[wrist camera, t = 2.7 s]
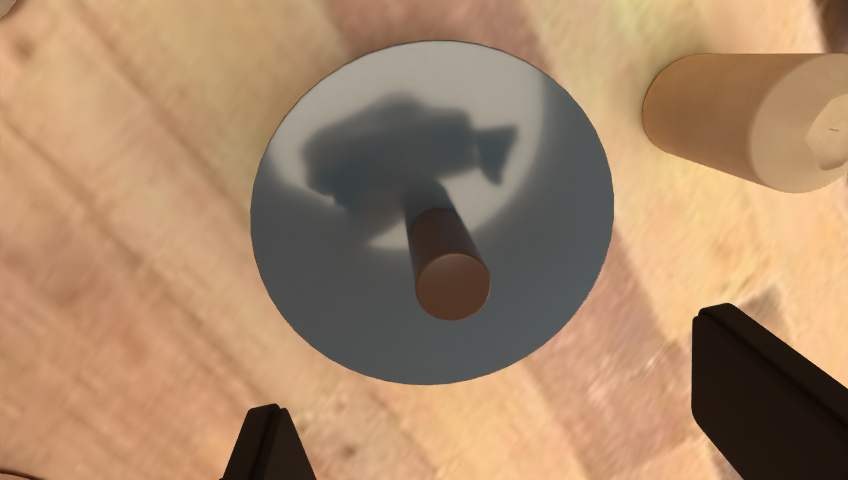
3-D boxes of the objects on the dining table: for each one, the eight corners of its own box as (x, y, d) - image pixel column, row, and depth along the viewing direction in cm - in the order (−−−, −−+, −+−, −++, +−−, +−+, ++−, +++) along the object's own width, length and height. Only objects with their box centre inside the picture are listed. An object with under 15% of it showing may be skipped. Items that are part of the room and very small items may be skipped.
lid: (228, 333, 22) (178, 424, 17) (301, -20, 17) (263, -55, 12) (526, 396, 25) (566, 492, 20) (662, 111, 20) (768, 132, 15)
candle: (687, 171, 28) (837, 228, 19) (621, 121, 27) (748, 156, 18) (754, 90, 27) (952, 109, 18) (688, 32, 25) (866, 19, 16)
